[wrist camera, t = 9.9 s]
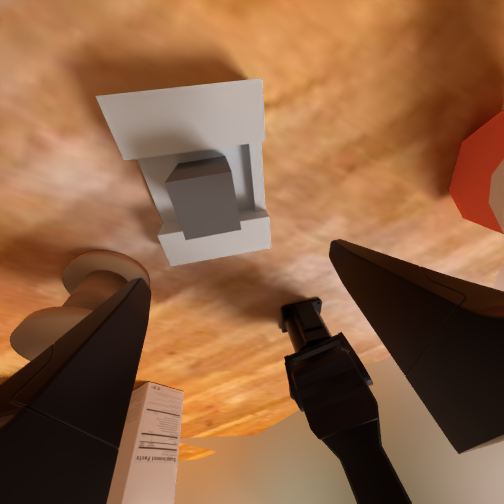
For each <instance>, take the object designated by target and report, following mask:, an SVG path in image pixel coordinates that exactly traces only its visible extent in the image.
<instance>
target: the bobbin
mask: <svg viewBox="0 0 504 504" xmlns="http://www.w3.org/2000/svg"><path fill="white" fill-rule="evenodd" d="M140 277H142V278H143V279H144V280H145V281H146V283H147V285H148V287H150V278H149V275H148V273H147V271H146V270H145V269H144V267H143V266H142V265H141V264H139V263H138V262H137V261H135V260H134V259H132V258H130V257H128V256H126V255H123V254H120V253H117V252H112V251H104V250H98V251H90V252H86V253H83V254H81V255H79V256H77V257H76V258H74V259H73V260H72V261H71V262H70V263H69V264H68V266H67V267H66V268H65V269H64V271H63V274H62V280H63V284H64V286H65V288H66V290H67V291H68V292H69V293H70V294H71V295H70V297H69V298H68V299H67V301H66V302H65V303H64V304H63V306H62V307H51V308H46V309H41V310H38V311H36V312H34V313H32V314H30V315H28V316H27V317H26V318H25V319H24V320H23V321H22V322H21V323H20V324H19V326H18V327H17V328H16V329H15V330H14V331H13V332H12V334H11V336H10V343H11V346H12V348H13V349H14V350H15V351H16V352H17V353H18V354H19V355H21V356H22V357H24V358H25V359H27V360H29V361H32V360H33V359H34V358H36V357H37V356H38V355H39V354H41V353H42V352H43V351H44V350H45V349H47V348H48V347H49V346H50V345H52V344H54V342H55V341H57V340H58V339H59V338H60V337H62V336H63V335H64V334H65V333H66V332H68V331H69V330H70V329H71V328H73V327H74V326H75V325H76V324H78V323H79V322H80V321H81V320H82V319H84V318H85V317H86V316H87V315H89V314H90V313H91V312H92V311H94V310H95V309H96V308H97V307H98V306H100V305H101V304H102V303H103V302H105V301H106V300H107V299H108V298H110V297H111V296H112V295H113V294H114V293H116V292H117V291H118V290H119V289H121V288H122V287H123V286H124V285H126V284H127V283H128V282H129V281H130V280H132V279H135V278H140Z"/></svg>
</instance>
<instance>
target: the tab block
mask: <svg viewBox="0 0 504 504" xmlns="http://www.w3.org/2000/svg"><path fill="white" fill-rule="evenodd" d="M164 184H165V186H166V189H167V192H168V194H169V197H170V200H171V202H172V205H173V208H174V210H175V213H176V216H177V218H178V221H179V224H180V226H181V229H182V232H183V234H184V237H185V240H190V239H195V238H201V237H206V236H211V235H216V234H222V233H227V232H232V231H237V230H241V224H240V218H239V212H238V206H237V200H236V195H235V189H234V183H233V177H232V171H231V169H230V166H229V164H228V161H227V159H226V156H221V157H215V158H209V159H203V160H196V161H190V162H184V163H178V164H177V166H176V167H175V168H174V170H173V171H172V173H171V174H170V175H169V177H168V178H167V180H166V181H165V182H164Z"/></svg>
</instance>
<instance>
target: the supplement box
mask: <svg viewBox="0 0 504 504" xmlns="http://www.w3.org/2000/svg"><path fill="white" fill-rule="evenodd" d="M183 398H184V391H180V390H177V389H173V388H170V387H166V386H163V385H159V384H155V383H152V382H147V383H145V384H143V385H142V386H140V387H139V388H137V389H135V390H134V391H132V396H131V400H130V404H129V408H128V413H127V417H126V421H125V426H124V430H123V434H122V439H121V443H120V447H119V452H118V457H117V461H116V465H115V470H114V474H113V478H112V482H111V487H110V491H109V495H108V500H107V504H174V497H175V486H176V474H177V463H178V453H179V442H180V431H181V421H182V409H183Z"/></svg>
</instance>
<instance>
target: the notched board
mask: <svg viewBox="0 0 504 504" xmlns="http://www.w3.org/2000/svg"><path fill="white" fill-rule="evenodd" d="M96 99H97V101H98V103H99V105H100V108H101V110H102V112H103V115H104V117H105V119H106V121H107V124H108V126H109V128H110V130H111V133H112V135H113V137H114V139H115V142H116V144H117V146H118V148H119V151H120V153H121V155H122V157H123V160H124V161H126V160H133V159H137V160H138V163H139V165H140V168H141V170H142V173H143V175H144V178H145V180H146V183H147V185H148V187H149V190H150V192H151V195H152V197H153V200H154V202H155V205H156V207H157V210H158V212H159V215H160V217H161V219H162V222H163V224H162V226H161V228H160V231H159V233H158V235H157V236H158V239H159V241H160V243H161V245H162V248H163V250H164V252H165V254H166V257H167V259H168V261H169V263H170V266H177V265H182V264H188V263H193V262H199V261H204V260H210V259H215V258H220V257H226V256H231V255H237V254H242V253H248V252H253V251H258V250H264V249H269V248H271V237H270V218H269V215H268V213H267V212H266V208H265V192H264V176H263V160H262V144H261V142H266V140H265V120H264V101H263V82H262V78H258V79H249V80H240V81H231V82H221V83H212V84H203V85H193V86H184V87H175V88H165V89H156V90H147V91H137V92H128V93H119V94H109V95H100V96H96ZM221 156H226V159H227V161H228V164H229V166H230V169H231V171H232V177H233V183H234V189H235V195H236V200H237V206H238V212H239V218H240V224H241V230H237V231H232V232H227V233H222V234H216V235H211V236H206V237H201V238H195V239H190V240H185V237H184V234H183V232H182V229H181V226H180V224H179V221H178V218H177V216H176V213H175V210H174V208H173V205H172V202H171V200H170V197H169V194H168V192H167V189H166V186H165V184H164V182H165V181H166V180H167V178H168V177H169V175H170V174H171V173H172V171H173V170H174V168H175V167H176V166H177V164H178V163H184V162H190V161H196V160H203V159H209V158H215V157H221Z"/></svg>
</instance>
